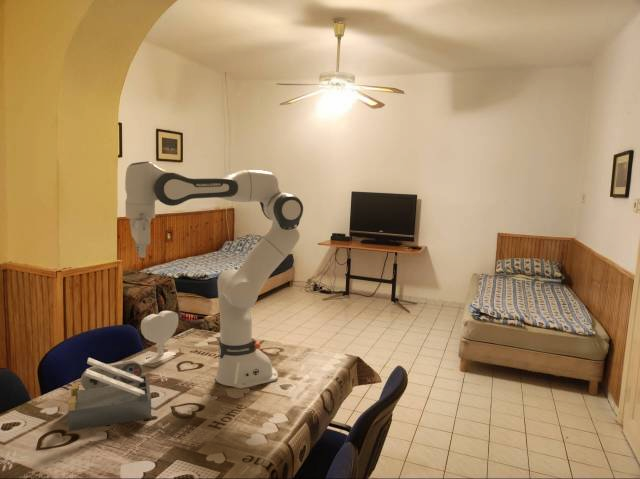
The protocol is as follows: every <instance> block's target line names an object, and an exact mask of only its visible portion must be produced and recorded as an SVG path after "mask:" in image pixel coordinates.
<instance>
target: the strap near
mask: <svg viewBox="0 0 640 479" xmlns="http://www.w3.org/2000/svg"><path fill="white" fill-rule="evenodd" d="M84 372H85V376H88V377H90V378H93V379H96V380H98V381H101V382H104V383H106V384H109V385H110V386H114V387H117V388H120V389H122V390H125V391H128V392H130V393H133V394H136V395H138V396H140V394H145V391H144V390H141V389H139V388H136V387H133V386H131V385H128V384H126V383H123V382H120V381H118V380H115V379H112V378H110V377H107V376H105V375H102V374H99V373H97V372H94V371H91V370H89V369H88V368H86V369H85V370H84Z"/></svg>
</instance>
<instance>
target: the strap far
mask: <svg viewBox="0 0 640 479" xmlns="http://www.w3.org/2000/svg"><path fill="white" fill-rule="evenodd" d="M86 364H88V365H89V366H91V367H93V366H95V367H97V368H100V369H103V370H105V371H108V372H110V373H113V374H116V375H118V376H121V377H123V378H126V379H129V380H131V381H134V382H135V383H139V382H143V381H144V379H143V378H140V377H138V376H135V375H133V374H130V373H128V372H125V371H122V370H120V369H117V368H115V367H112V366H110V365H107V364H108V363H104V362H101V361H99V360H96V359H94V358H91V357H87V362H86Z"/></svg>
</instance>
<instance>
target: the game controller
mask: <svg viewBox="0 0 640 479" xmlns="http://www.w3.org/2000/svg"><path fill="white" fill-rule="evenodd" d="M106 364H107V365H110V366H112V367H115V368H117V369H120V370H122V371H125V372H128V373H130V374H133V375H135V376H138V377H139V376H141V375H144V374H143V373H144V371H143V370H144V369H143V366H142V365H141V363H140V362H138V361H137V360H135V359H129V360H127V359H126V360H123V361H119V362H112V363H106ZM87 369H89V370H91V371H94V372H97V373H99V374H102V375H105V376H107V377H110V378H112V379H115V380H118V381H120V382H123V383H126V384H134V383H136V382H134V381H131V380H129V379H126V378H123V377H121V376H118V375H116V374H113V373H110V372H108V371H105V370H103V369H100V368H97V367H95V366H90V367H88V368H87ZM80 384H81V386H82V388H83V390H85V389H93V388H101V387H109V386H111V385H109V384H106V383H104V382H101V381H98V380H96V379H93V378H90V377H88V376H85V371H83V373H82V374H81V377H80Z"/></svg>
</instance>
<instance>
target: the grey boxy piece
mask: <svg viewBox="0 0 640 479" xmlns="http://www.w3.org/2000/svg"><path fill="white" fill-rule="evenodd" d="M146 376H147V375H145V374H142V375H141V376H139V377H140V378H143V379H144V381H143V382H139V383H136V382H135V383H133V384H128V385H131V386H133V387H136V388H139V389H141V390H144V391H145V394H140V396H138V395H136V394H133V393H130V392H128V391H125V390H122V389H120V388H117V387H114V386H112V385H110V386H105V387H101V388H93V389H79V388H80V387H79V385H80V384H79V382H75V383H72V385H71V389H70V396H69V397H68V401H67V416H68V417H67V418H68V431H69V432H71V431H77V430H84V429H91V428H96V427H105V426H110V425H118V424H124V423H129V422H130V423H131V422H136V421H143V420H150V419H152V398H151V397H152V396H151V390H150V389H151V388H150V387H151V386H150V381H146V380H147V379H146Z"/></svg>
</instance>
